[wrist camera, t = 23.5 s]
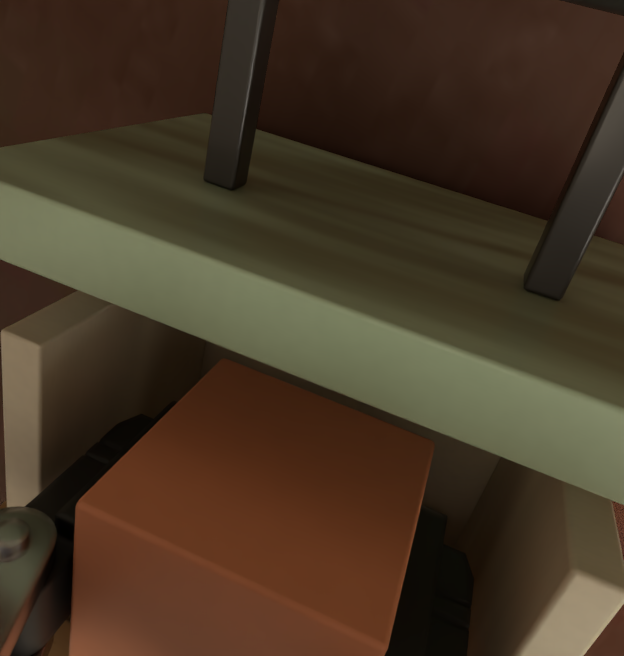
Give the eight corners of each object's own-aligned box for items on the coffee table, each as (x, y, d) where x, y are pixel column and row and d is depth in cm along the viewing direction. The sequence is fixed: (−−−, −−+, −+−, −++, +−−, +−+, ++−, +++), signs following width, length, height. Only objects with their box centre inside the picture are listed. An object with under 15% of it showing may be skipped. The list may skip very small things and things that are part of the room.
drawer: (238, -143, 12) (-117, -391, 5) (829, -10, 10) (1430, -146, 3) (152, 492, 21) (-22, 695, 14) (457, 631, 19) (421, 943, 12)
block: (437, 439, 11) (388, 650, 7) (371, 591, 13) (306, 816, 9) (222, 354, 11) (72, 501, 8) (194, 511, 14) (64, 687, 10)
